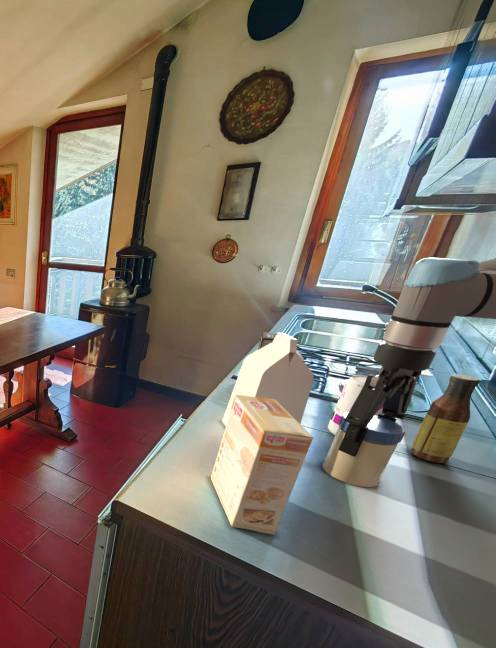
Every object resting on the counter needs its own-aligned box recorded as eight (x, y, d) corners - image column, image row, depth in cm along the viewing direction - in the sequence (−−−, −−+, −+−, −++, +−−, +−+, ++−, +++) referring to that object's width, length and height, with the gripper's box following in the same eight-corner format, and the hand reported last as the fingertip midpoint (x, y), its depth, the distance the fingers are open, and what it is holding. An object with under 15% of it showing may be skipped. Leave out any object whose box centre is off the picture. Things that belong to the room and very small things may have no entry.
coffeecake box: (276, 536, 67) (316, 437, 59) (230, 527, 68) (262, 430, 61) (247, 484, 80) (276, 398, 72) (209, 477, 82) (233, 393, 74)
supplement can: (375, 445, 95) (402, 389, 89) (334, 439, 97) (357, 384, 92) (359, 430, 102) (382, 377, 96) (321, 424, 104) (342, 372, 99)
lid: (326, 422, 83) (330, 412, 82) (364, 420, 84) (369, 410, 84) (372, 445, 75) (377, 435, 74) (414, 443, 76) (419, 432, 75)
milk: (221, 421, 105) (248, 327, 95) (269, 426, 103) (301, 331, 93) (239, 444, 94) (271, 341, 84) (292, 450, 92) (332, 345, 82)
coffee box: (249, 375, 138) (262, 331, 131) (270, 379, 134) (285, 334, 128) (248, 383, 131) (262, 337, 124) (271, 388, 127) (287, 340, 121)
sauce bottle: (455, 463, 88) (501, 382, 80) (432, 465, 87) (477, 384, 79) (420, 448, 94) (461, 371, 86) (399, 450, 93) (438, 373, 85)
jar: (382, 477, 83) (406, 427, 78) (372, 493, 78) (397, 441, 73) (329, 457, 89) (349, 411, 85) (316, 471, 84) (337, 422, 80)
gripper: (413, 334, 79) (369, 430, 88) (349, 345, 72) (308, 449, 80) (465, 344, 73) (412, 447, 82) (402, 357, 65) (351, 469, 74)
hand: (361, 448), depth 81 cm, fingers closed on lid, 9 cm apart
